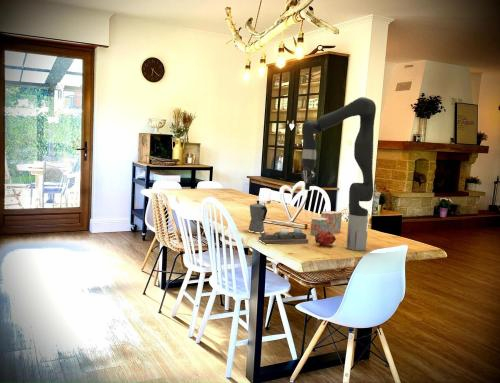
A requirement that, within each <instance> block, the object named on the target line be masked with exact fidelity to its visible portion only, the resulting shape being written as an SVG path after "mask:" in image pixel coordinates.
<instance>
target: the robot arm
mask: <svg viewBox="0 0 500 383" xmlns="http://www.w3.org/2000/svg"><path fill="white" fill-rule="evenodd" d="M376 110H377V105H376V104H375V102H374V100H372V99H370V98H368V97H366V96H365V97H364V96H361V97H358V98H356V99H354V100H352V101H351V102H349V103H348V104H346V105H343V107H340V108H339V109H337V110H334V111H332V112H329V113H327V114H324V115H322V116H320V117H319V118H318V119H317V120H306V121H304V122H303V124H302V127H301V133H302V139H303V148H302V156H301V167H303V168H302V171H301V172H300V176H301V179H302V182H304V190H305V191H309V190H311V189H310V187H311V184H312V183H313V182H314V180H315V178H316V176H317V174H316V173H315V171H314V168H316V166H317V164H316V162H317V145H318V143H317V142H318V141H317V139H315V137H314V135H317V134H320V133H322V132H323V131H325V130H327V129H330V128H332V127H334V126H338V125H339V124H340V123H342V122H343V121H344V120H346V119H349V118H352V117H355V116H356V117H357V116H359V120H360V121H359V129H358V132H357V135H356V138H355V140H354V146H353V148H354V149H353V158H354V159H355V161H356V164H357V166H358V168H360V169H359V170H360V171H361V174H362V181H363V182H352V183H351V184H350V186H349V190H348V192H349V193H348V221H347V233H346V246H345V248H346V249H349V250H352V251H366V250H367V242H368V241H367V240H368V231H367V229H368V217H369V210H368V209H367V208H364V207H363V206H361V204H360V202H370V201H371V200H372V199H373V196H374V176H373V175H374V174H373V166H374V165H373V161H374V157H373V156H374V132H375V130H374V128H375V127H374V126H375V118H376V114H377V113H376Z"/></svg>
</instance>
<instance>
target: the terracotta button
mask: <svg viewBox="0 0 500 383" xmlns="http://www.w3.org/2000/svg"><path fill="white" fill-rule="evenodd" d="M264 232H265V234H266V235H274V233H275V232H273V231H264Z"/></svg>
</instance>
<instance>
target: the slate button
mask: <svg viewBox="0 0 500 383" xmlns="http://www.w3.org/2000/svg"><path fill="white" fill-rule="evenodd" d="M292 232H293V233H294V234H302V233H303V229H302V228H297V227H296V228H293V231H292Z"/></svg>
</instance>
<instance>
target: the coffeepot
mask: <svg viewBox="0 0 500 383" xmlns="http://www.w3.org/2000/svg"><path fill="white" fill-rule="evenodd" d="M267 213H268V208H267V206H266V205H264V204H261V203H260V200H258V199H257V200H256V203H253V204H249V214H250V221H249V226H248V230H250V231H254V232H263V231H264V232H265V225H264V222H265V220H266V217H267Z"/></svg>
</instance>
